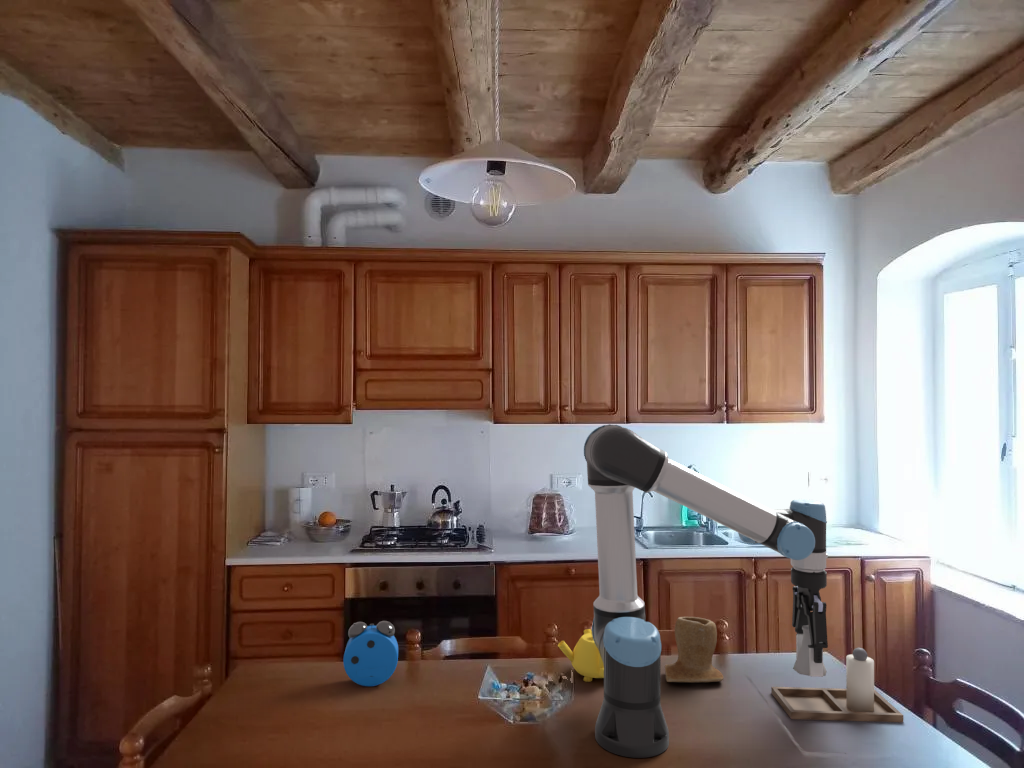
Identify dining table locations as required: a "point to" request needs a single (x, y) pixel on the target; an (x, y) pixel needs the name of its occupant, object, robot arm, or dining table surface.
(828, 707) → the tray
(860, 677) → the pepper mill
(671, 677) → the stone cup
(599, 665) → the teapot
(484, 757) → the dining table surface
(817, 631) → the robot arm
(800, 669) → the flask
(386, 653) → the alarm clock
